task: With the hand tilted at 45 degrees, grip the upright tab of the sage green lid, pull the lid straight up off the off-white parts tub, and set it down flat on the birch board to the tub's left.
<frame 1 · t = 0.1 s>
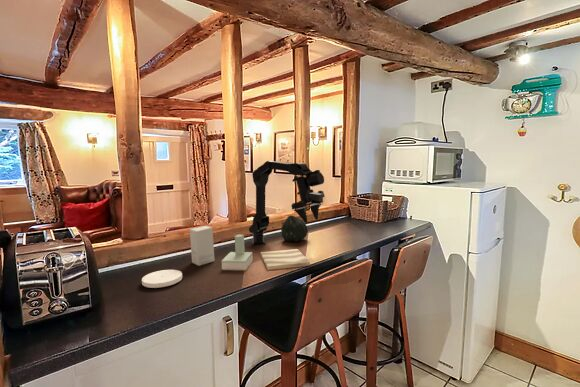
hand: (311, 221, 146), 15 cm above the worktop, tool pointing down, fingers open, 9 cm apart
skincare box: (203, 262, 138), on the worktop
sage lid: (237, 258, 133), point 3 cm above the worktop, touching parts tub
parts tub: (237, 265, 133), on the worktop
squash: (294, 240, 172), on the worktop
birch board: (284, 260, 138), on the worktop
plastic lid: (162, 283, 117), on the worktop
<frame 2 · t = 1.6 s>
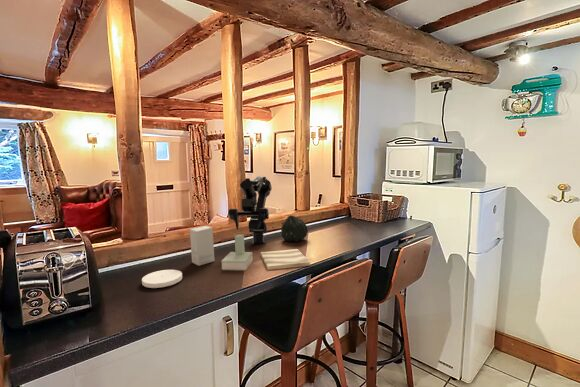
hand: (247, 229, 143), 13 cm above the worktop, tool tilted 45°, fingers open, 9 cm apart
nothing on the worktop moved.
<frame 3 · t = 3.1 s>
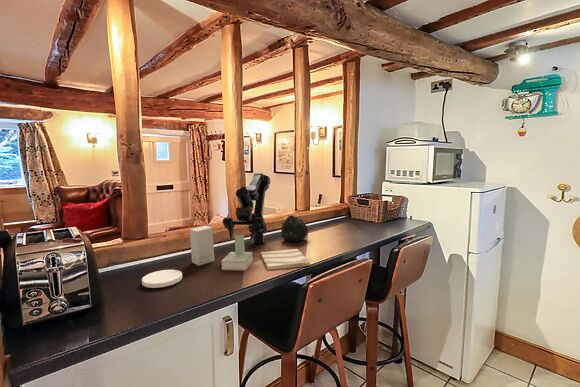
hand: (240, 239, 138), 10 cm above the worktop, tool tilted 45°, fingers open, 9 cm apart
nothing on the worktop moved.
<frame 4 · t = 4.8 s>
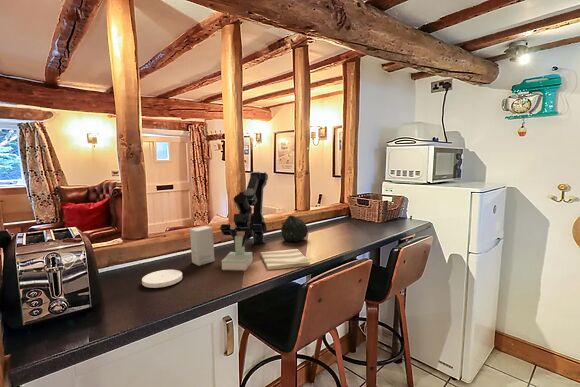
hand: (238, 246, 135), 8 cm above the worktop, tool tilted 45°, fingers closed on sage lid, 3 cm apart
sage lid: (237, 258, 133), point 3 cm above the worktop, touching gripper, parts tub
everything else where it was.
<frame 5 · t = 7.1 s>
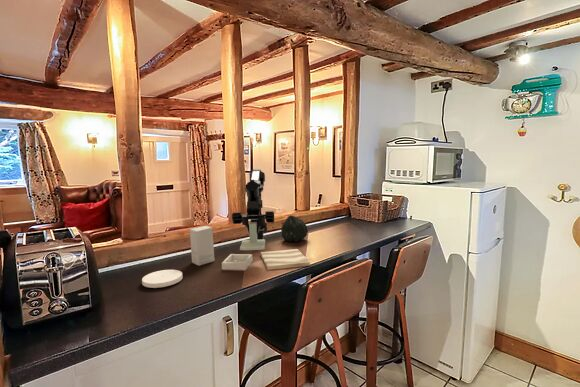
hand: (253, 233, 134), 13 cm above the worktop, tool tilted 45°, fingers closed on sage lid, 3 cm apart
sage lid: (253, 245, 132), point 8 cm above the worktop, touching gripper
everything else where it was.
when the fingers open (8 cm above the worktop, at t = 9.5 s): sage lid drops 1 cm, resting on birch board.
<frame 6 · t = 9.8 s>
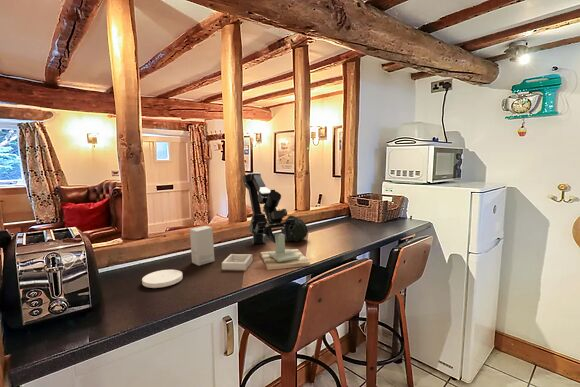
hand: (281, 241, 139), 8 cm above the worktop, tool tilted 45°, fingers open, 6 cm apart
sage lid: (283, 256, 137), point 2 cm above the worktop, touching birch board
everything else where it was.
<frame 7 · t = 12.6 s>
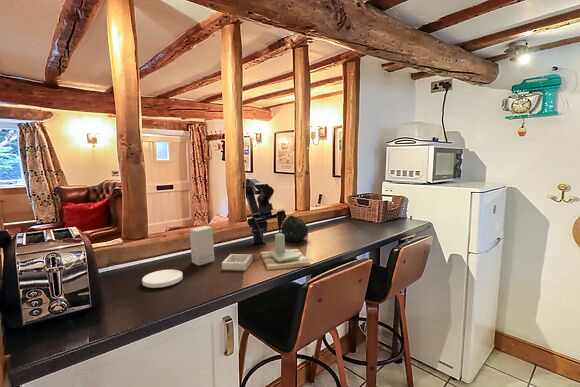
hand: (270, 234, 148), 9 cm above the worktop, tool tilted 35°, fingers open, 9 cm apart
nothing on the worktop moved.
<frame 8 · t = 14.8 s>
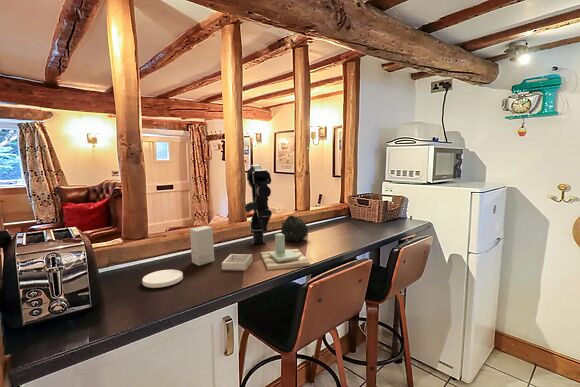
hand: (262, 227, 150), 12 cm above the worktop, tool pointing down, fingers open, 9 cm apart
nothing on the worktop moved.
at the end: sage lid inside the target area on the birch board (0.5 cm from its centre), point 2.1 cm above the birch board's base; sage lid tilted 0°; the gripper is holding nothing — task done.
